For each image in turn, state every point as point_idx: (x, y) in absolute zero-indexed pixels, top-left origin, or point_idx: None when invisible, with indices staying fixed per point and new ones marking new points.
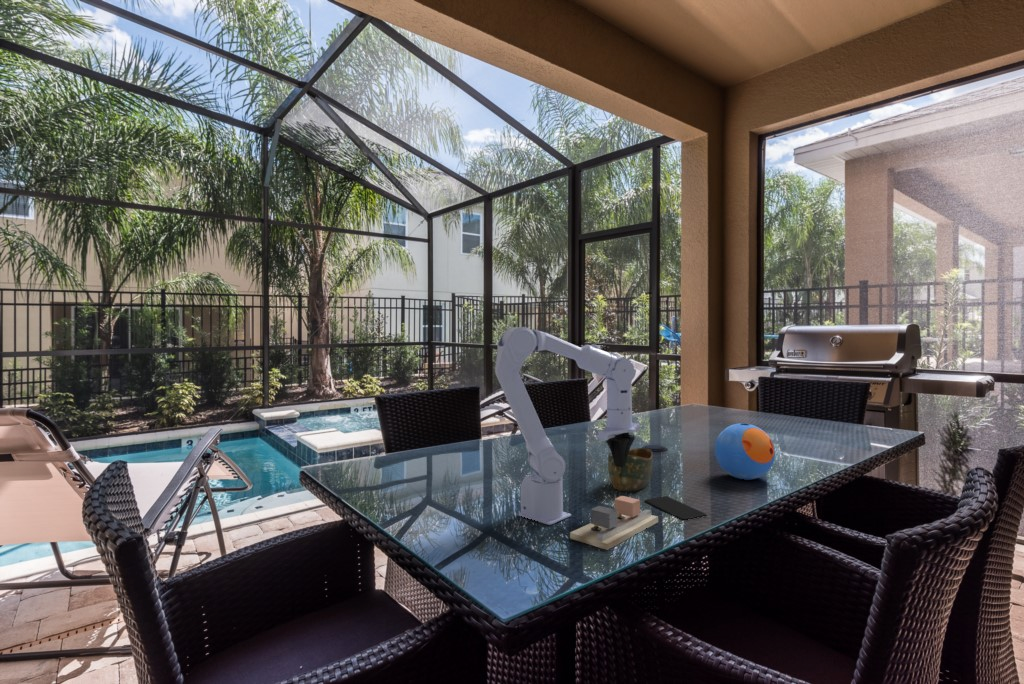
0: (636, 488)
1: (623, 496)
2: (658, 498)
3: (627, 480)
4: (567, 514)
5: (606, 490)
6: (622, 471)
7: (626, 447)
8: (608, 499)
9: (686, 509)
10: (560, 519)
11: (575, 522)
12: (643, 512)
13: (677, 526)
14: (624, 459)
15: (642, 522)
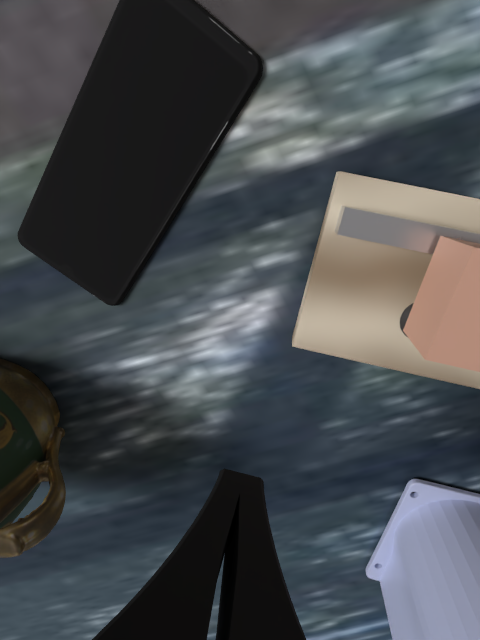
0: (15, 370)
1: (435, 348)
2: (63, 261)
3: (36, 415)
4: (423, 491)
5: (84, 453)
6: (23, 460)
7: (232, 631)
8: (170, 423)
9: (126, 94)
10: (478, 496)
11: (464, 449)
12: (393, 231)
13: (356, 65)
14: (247, 517)
15: (453, 212)
